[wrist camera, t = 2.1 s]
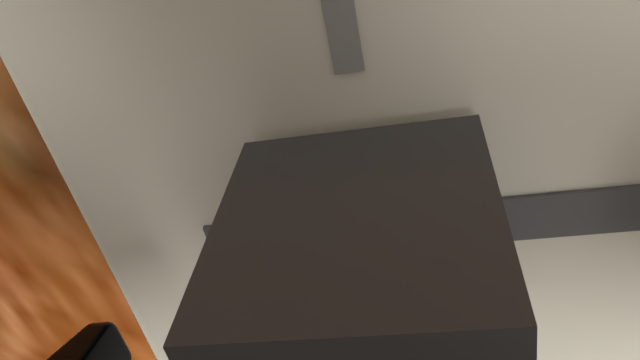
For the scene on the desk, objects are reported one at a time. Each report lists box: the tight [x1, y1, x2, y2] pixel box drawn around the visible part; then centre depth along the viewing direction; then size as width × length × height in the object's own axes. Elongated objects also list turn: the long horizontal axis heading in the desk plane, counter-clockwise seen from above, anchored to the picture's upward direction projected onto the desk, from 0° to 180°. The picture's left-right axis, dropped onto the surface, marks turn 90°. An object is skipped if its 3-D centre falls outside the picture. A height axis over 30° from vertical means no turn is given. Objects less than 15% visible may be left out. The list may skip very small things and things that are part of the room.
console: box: [0, 0, 640, 360], centre depth 12 cm, size 22×12×3 cm, turn 101°
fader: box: [163, 114, 537, 360], centre depth 9 cm, size 4×5×4 cm
